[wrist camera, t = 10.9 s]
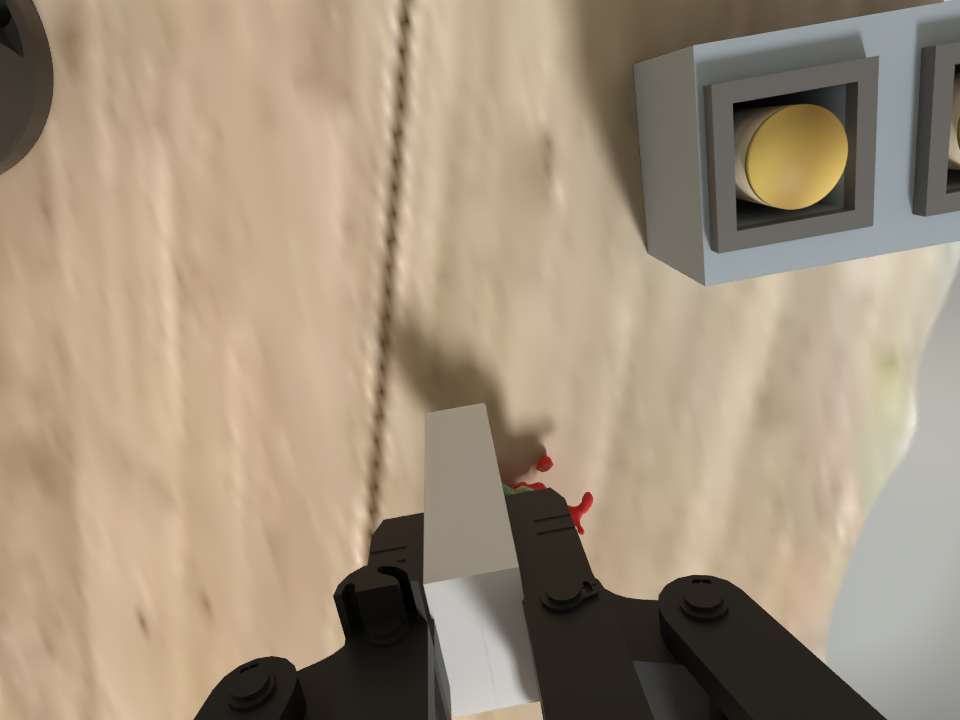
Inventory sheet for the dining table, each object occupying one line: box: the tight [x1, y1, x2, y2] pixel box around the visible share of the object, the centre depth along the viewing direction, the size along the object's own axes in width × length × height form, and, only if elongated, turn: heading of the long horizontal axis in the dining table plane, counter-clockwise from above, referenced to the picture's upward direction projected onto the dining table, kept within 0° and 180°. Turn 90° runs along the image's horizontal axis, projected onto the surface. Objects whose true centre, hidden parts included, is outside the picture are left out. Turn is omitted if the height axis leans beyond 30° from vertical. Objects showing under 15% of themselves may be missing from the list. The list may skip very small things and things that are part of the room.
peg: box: [733, 104, 848, 210], centre depth 37 cm, size 5×5×10 cm
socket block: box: [633, 0, 960, 286], centre depth 38 cm, size 20×12×11 cm, turn 99°
